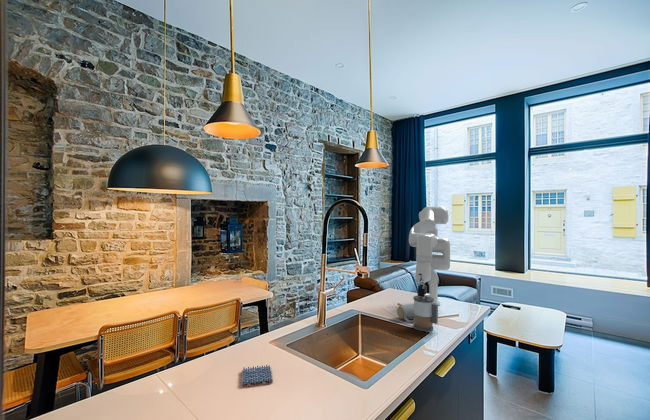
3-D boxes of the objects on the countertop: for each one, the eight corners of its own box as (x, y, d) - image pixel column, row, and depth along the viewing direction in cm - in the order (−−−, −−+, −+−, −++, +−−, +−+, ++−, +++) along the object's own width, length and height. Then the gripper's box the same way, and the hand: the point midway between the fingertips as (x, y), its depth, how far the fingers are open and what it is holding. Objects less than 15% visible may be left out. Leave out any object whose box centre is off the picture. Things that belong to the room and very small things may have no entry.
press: (417, 322, 154) (418, 294, 154) (440, 328, 147) (440, 298, 147) (410, 328, 146) (410, 298, 147) (433, 334, 139) (433, 302, 139)
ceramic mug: (396, 317, 162) (396, 303, 162) (408, 315, 165) (409, 302, 165) (406, 324, 152) (406, 309, 152) (420, 322, 155) (420, 308, 154)
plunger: (419, 308, 151) (420, 283, 152) (431, 311, 148) (431, 285, 148) (415, 311, 147) (415, 285, 147) (427, 314, 143) (427, 287, 143)
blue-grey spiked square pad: (241, 390, 94) (241, 383, 94) (241, 372, 104) (241, 367, 104) (273, 385, 97) (274, 379, 97) (271, 369, 107) (271, 363, 107)
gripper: (423, 256, 157) (422, 290, 156) (410, 260, 143) (409, 297, 143) (437, 258, 152) (436, 292, 152) (425, 261, 139) (424, 300, 138)
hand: (423, 294), depth 147 cm, fingers closed on plunger, 6 cm apart
